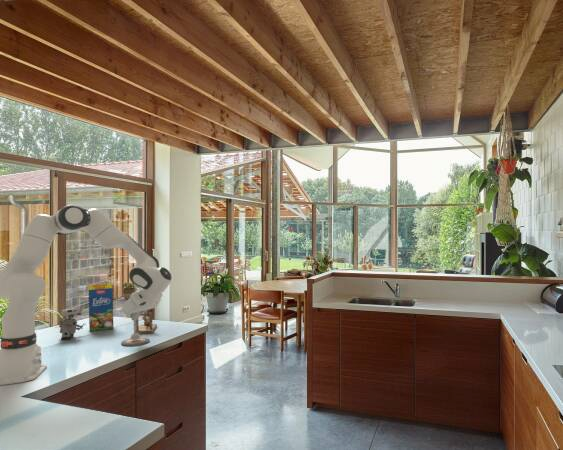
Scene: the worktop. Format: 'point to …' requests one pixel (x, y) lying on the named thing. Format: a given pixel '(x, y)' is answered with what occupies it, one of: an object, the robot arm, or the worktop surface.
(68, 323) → the figurine
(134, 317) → the chalice
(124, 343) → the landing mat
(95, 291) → the blue food package
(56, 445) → the worktop surface
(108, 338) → the worktop surface
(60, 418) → the worktop surface
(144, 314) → the toy catapult
